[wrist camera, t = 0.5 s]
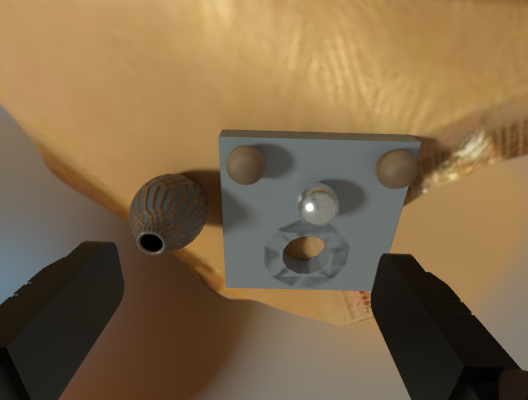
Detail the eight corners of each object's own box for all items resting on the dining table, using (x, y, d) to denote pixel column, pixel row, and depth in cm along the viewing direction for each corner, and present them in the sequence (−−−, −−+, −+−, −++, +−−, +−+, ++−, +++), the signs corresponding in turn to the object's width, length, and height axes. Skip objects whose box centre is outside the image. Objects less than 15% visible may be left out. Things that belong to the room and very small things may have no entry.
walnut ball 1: (227, 140, 25) (222, 152, 22) (266, 141, 25) (266, 153, 22) (229, 175, 26) (224, 191, 23) (265, 176, 26) (264, 192, 23)
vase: (225, 191, 30) (211, 239, 22) (189, 232, 32) (166, 288, 25) (169, 151, 28) (132, 189, 20) (136, 198, 30) (92, 248, 23)
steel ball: (294, 175, 26) (299, 194, 23) (337, 176, 26) (348, 195, 23) (291, 212, 28) (295, 234, 25) (331, 213, 28) (340, 236, 25)
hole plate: (222, 129, 27) (218, 136, 25) (408, 134, 27) (421, 142, 25) (228, 272, 35) (226, 287, 33) (370, 276, 35) (377, 291, 33)
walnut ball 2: (373, 144, 25) (388, 156, 22) (411, 145, 25) (431, 157, 22) (366, 179, 26) (379, 195, 23) (401, 180, 27) (419, 196, 24)
